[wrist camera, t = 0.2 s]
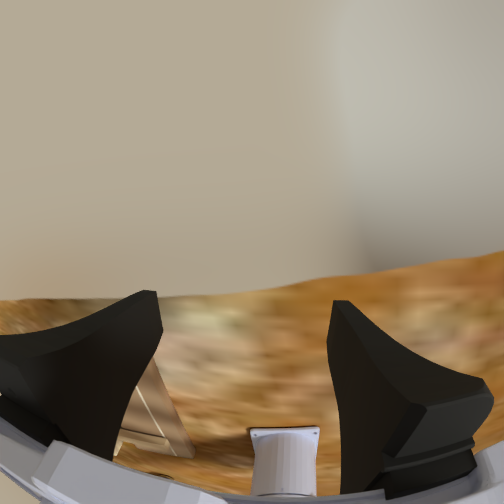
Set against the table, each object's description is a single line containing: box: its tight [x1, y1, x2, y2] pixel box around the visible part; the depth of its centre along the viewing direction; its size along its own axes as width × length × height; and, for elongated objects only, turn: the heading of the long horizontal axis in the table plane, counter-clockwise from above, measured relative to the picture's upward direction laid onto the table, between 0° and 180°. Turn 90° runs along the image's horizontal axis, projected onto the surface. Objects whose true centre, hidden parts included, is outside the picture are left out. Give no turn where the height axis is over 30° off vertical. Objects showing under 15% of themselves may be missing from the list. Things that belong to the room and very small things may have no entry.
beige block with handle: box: [114, 427, 170, 456], centre depth 29 cm, size 4×14×6 cm, turn 96°
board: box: [121, 357, 196, 459], centre depth 28 cm, size 21×9×2 cm, turn 6°
